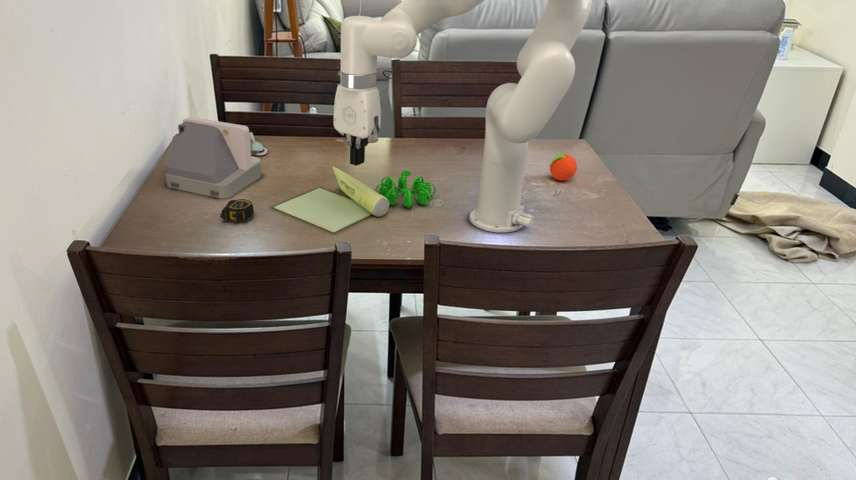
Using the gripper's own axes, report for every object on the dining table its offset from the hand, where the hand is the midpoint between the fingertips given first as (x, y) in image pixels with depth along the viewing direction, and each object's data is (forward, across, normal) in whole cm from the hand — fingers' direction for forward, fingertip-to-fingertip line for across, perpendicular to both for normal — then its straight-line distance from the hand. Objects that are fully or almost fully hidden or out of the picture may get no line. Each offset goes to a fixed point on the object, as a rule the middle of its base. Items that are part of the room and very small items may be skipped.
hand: (357, 163), depth 150 cm
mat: (+14, -10, 0) cm, 17 cm away
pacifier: (+15, -52, +16) cm, 56 cm away
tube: (+12, +3, +5) cm, 13 cm away
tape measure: (+15, -22, -18) cm, 32 cm away
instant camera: (+15, -44, -7) cm, 47 cm away
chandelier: (+14, 0, +18) cm, 23 cm away
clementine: (+14, +24, +56) cm, 62 cm away
